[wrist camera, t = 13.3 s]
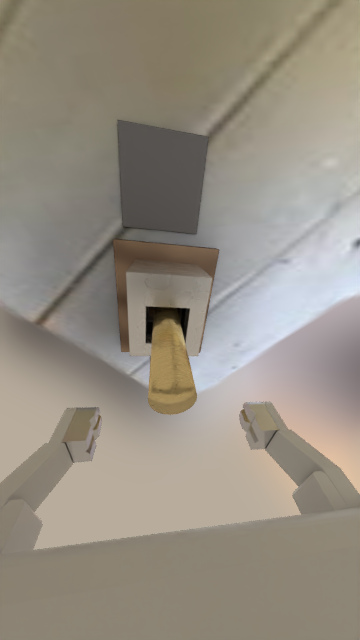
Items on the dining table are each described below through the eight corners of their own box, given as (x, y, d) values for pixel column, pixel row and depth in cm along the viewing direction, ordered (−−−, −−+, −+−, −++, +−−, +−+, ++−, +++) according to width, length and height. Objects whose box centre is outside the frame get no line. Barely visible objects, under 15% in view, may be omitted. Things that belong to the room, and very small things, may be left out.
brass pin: (154, 291, 24) (148, 381, 10) (176, 292, 24) (200, 381, 10) (154, 311, 25) (147, 415, 11) (174, 311, 26) (193, 413, 12)
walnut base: (115, 238, 22) (113, 239, 20) (215, 248, 24) (219, 249, 22) (123, 346, 29) (121, 351, 28) (198, 347, 31) (200, 352, 30)
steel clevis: (135, 259, 22) (125, 272, 16) (197, 264, 23) (212, 278, 17) (137, 349, 28) (131, 383, 22) (186, 350, 29) (193, 382, 23)
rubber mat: (118, 122, 17) (117, 119, 17) (207, 138, 18) (208, 136, 18) (123, 226, 21) (122, 226, 21) (195, 233, 22) (196, 234, 22)
